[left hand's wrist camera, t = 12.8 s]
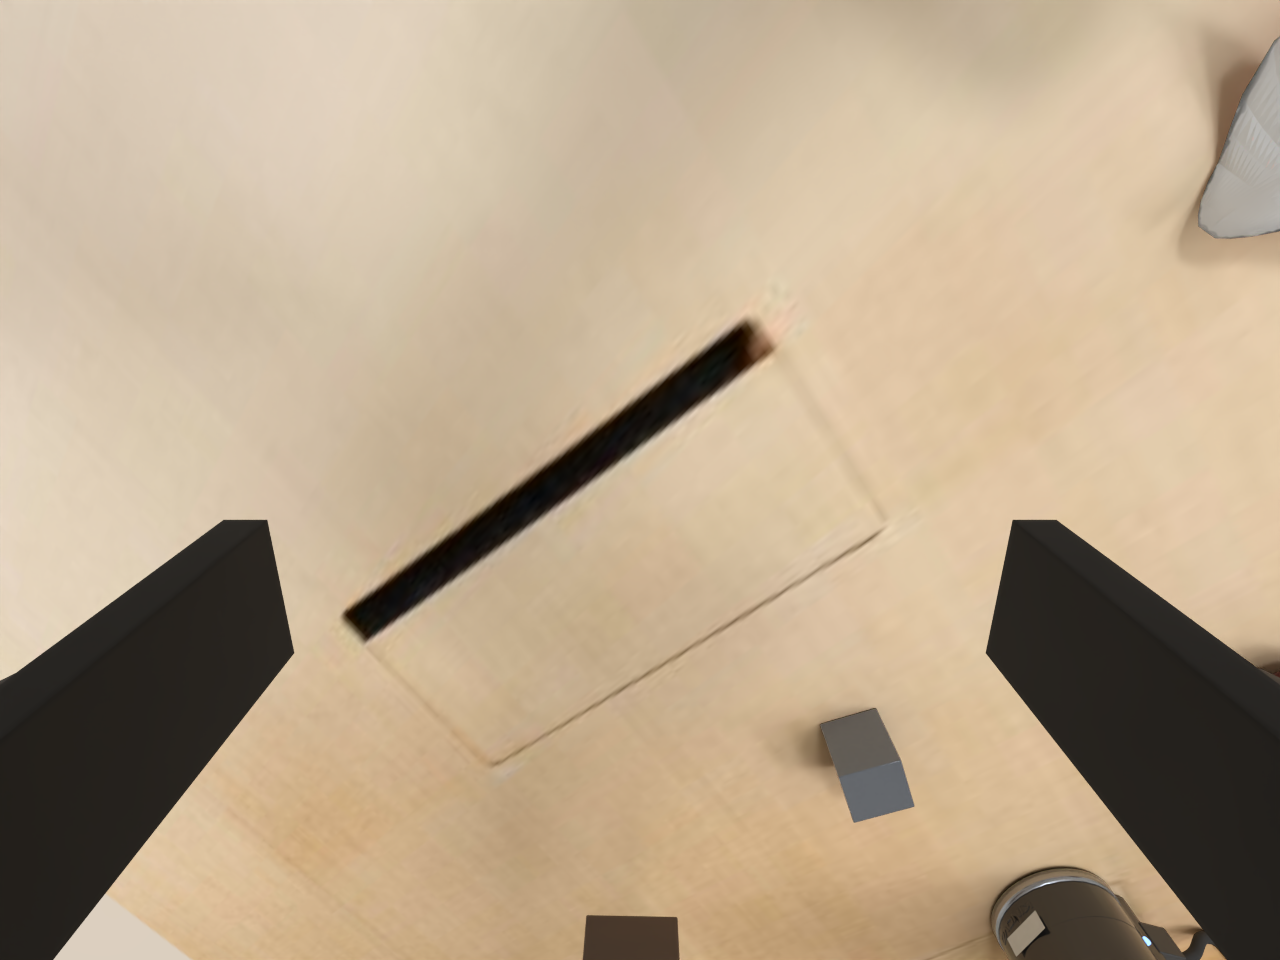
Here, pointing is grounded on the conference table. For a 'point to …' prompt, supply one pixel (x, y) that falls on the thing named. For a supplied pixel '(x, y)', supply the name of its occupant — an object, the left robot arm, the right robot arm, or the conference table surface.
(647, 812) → the conference table surface
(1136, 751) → the left robot arm
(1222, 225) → the fish
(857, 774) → the grey block
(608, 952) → the walnut bar
